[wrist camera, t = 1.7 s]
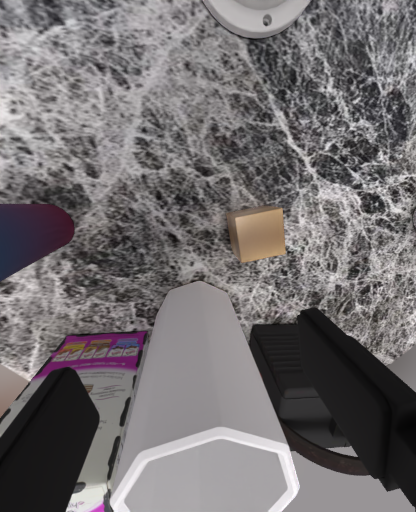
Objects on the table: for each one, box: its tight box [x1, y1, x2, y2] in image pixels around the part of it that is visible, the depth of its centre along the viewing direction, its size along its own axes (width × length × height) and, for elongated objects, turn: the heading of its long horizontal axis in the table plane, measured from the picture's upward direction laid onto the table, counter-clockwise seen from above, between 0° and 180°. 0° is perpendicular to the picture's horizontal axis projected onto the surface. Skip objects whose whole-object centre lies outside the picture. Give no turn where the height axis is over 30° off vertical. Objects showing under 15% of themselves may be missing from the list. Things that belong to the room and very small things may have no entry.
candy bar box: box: [0, 331, 148, 512], centre depth 22 cm, size 11×5×16 cm, turn 90°
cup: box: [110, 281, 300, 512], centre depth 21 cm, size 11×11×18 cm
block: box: [226, 205, 286, 263], centre depth 24 cm, size 5×5×5 cm
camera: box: [250, 325, 370, 476], centre depth 26 cm, size 11×14×15 cm
